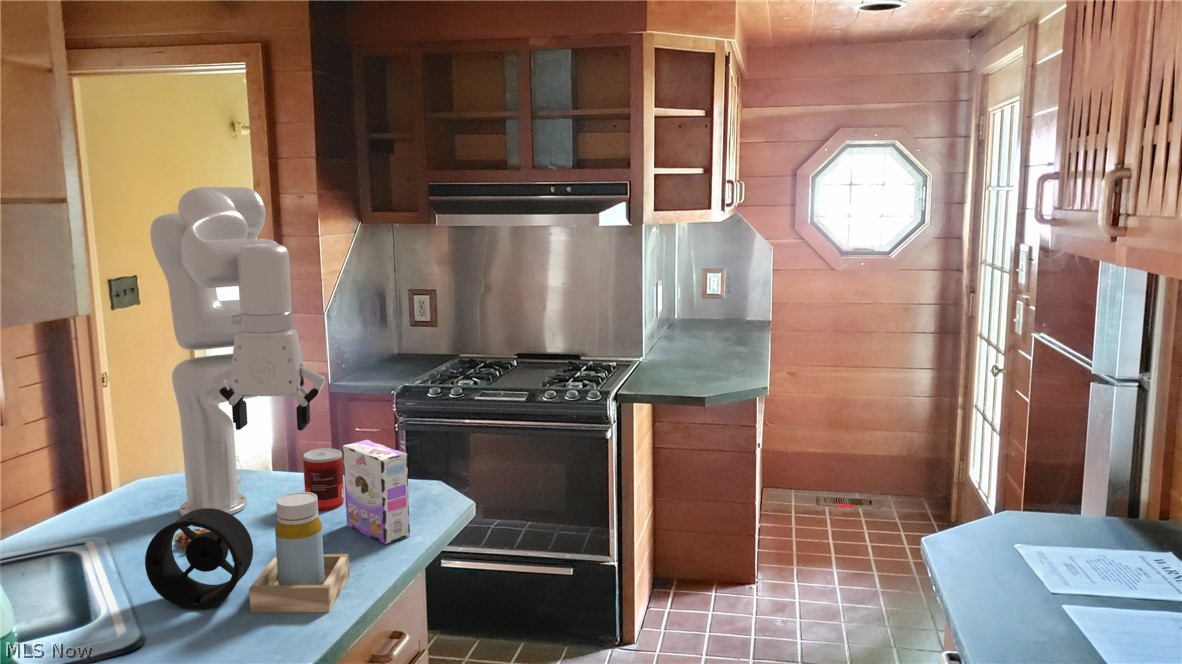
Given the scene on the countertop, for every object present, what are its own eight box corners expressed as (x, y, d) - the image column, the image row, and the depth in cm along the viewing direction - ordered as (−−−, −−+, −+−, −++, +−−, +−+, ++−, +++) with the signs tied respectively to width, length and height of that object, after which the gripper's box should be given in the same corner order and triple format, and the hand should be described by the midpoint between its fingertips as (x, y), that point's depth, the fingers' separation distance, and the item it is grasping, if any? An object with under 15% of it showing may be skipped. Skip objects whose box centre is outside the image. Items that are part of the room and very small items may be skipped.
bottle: (332, 579, 134) (328, 492, 132) (310, 600, 127) (304, 508, 125) (294, 575, 135) (289, 489, 133) (269, 595, 129) (264, 505, 126)
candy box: (411, 536, 154) (408, 452, 151) (384, 546, 149) (381, 460, 147) (371, 517, 163) (368, 437, 160) (345, 525, 159) (341, 444, 156)
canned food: (328, 494, 175) (326, 445, 173) (352, 503, 170) (350, 452, 168) (297, 505, 169) (294, 454, 167) (321, 514, 164) (318, 462, 162)
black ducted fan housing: (261, 497, 133) (234, 522, 124) (267, 580, 136) (241, 610, 126) (174, 497, 133) (140, 521, 124) (181, 580, 136) (148, 610, 126)
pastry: (194, 531, 157) (192, 513, 156) (234, 544, 151) (232, 526, 150) (159, 544, 151) (158, 526, 150) (200, 558, 145) (198, 539, 144)
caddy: (277, 577, 137) (276, 554, 136) (349, 576, 137) (348, 553, 137) (250, 613, 125) (248, 588, 125) (329, 611, 126) (328, 587, 125)
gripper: (200, 326, 124) (207, 434, 127) (315, 328, 124) (320, 435, 128) (220, 318, 131) (226, 420, 134) (329, 319, 132) (333, 421, 135)
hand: (272, 427), depth 131 cm, fingers open, 9 cm apart
